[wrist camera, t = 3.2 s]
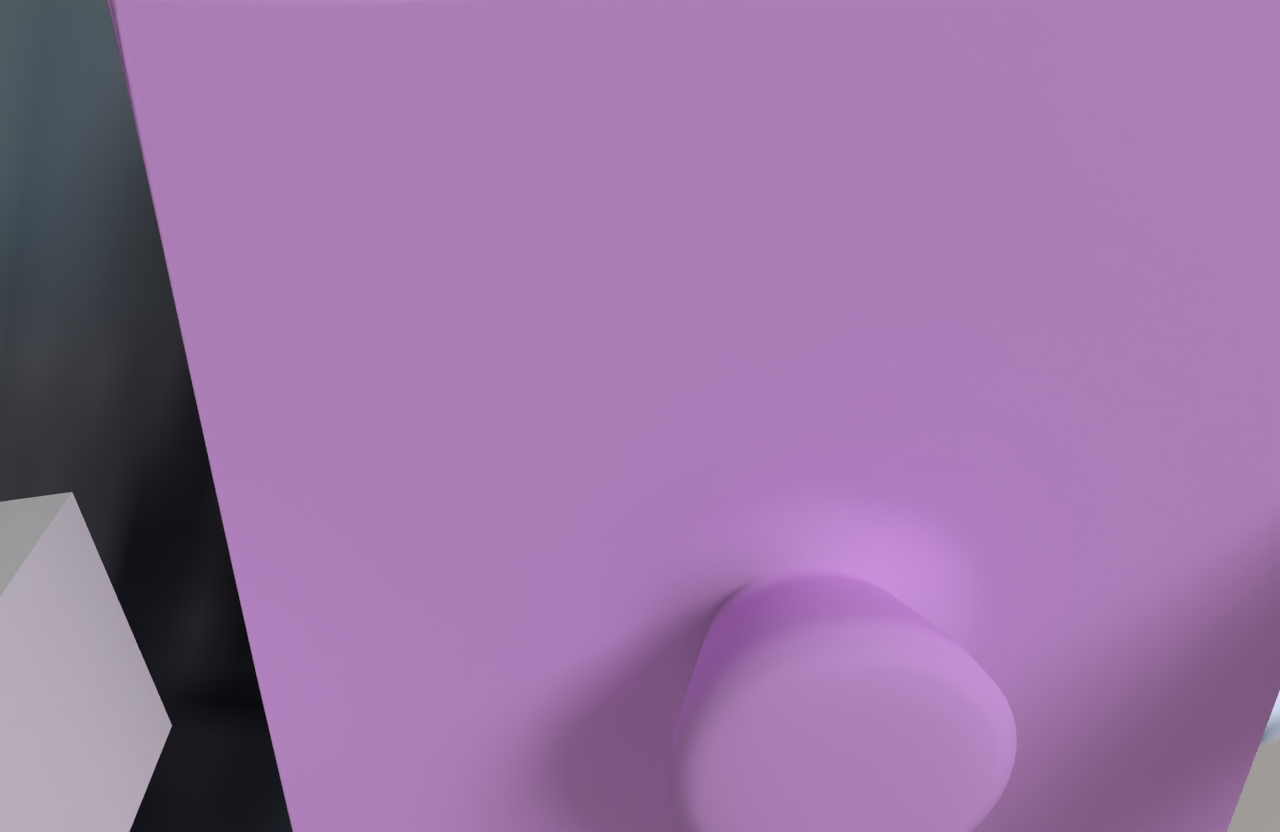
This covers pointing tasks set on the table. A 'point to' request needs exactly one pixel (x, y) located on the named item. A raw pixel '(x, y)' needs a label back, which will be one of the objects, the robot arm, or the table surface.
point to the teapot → (736, 402)
